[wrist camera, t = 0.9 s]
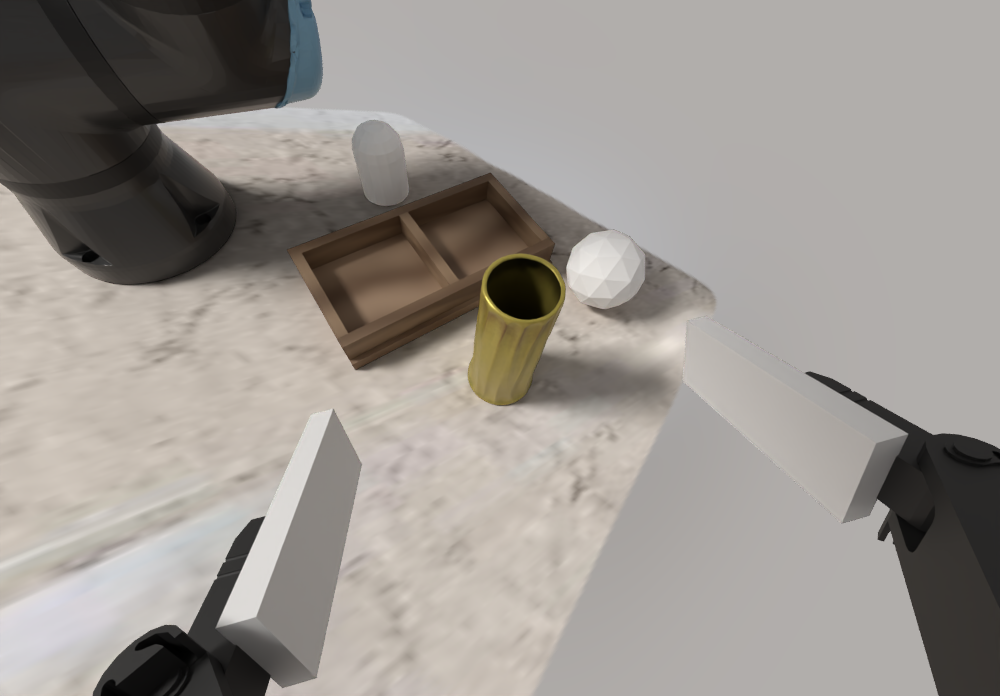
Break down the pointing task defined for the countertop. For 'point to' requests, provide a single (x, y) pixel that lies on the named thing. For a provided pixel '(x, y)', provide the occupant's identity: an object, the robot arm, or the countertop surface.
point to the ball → (606, 269)
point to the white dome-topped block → (380, 163)
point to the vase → (513, 325)
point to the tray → (414, 265)
